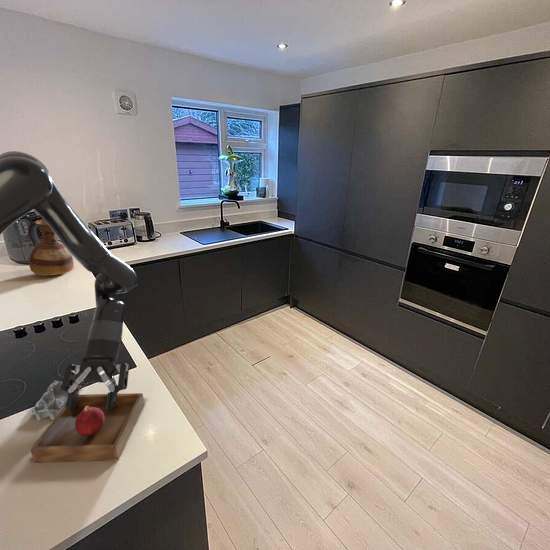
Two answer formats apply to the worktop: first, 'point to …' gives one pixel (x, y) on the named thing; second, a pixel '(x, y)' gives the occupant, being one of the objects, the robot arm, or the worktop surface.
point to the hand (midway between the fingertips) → (89, 410)
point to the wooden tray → (98, 447)
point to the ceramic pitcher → (48, 252)
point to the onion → (89, 421)
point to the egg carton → (51, 402)
